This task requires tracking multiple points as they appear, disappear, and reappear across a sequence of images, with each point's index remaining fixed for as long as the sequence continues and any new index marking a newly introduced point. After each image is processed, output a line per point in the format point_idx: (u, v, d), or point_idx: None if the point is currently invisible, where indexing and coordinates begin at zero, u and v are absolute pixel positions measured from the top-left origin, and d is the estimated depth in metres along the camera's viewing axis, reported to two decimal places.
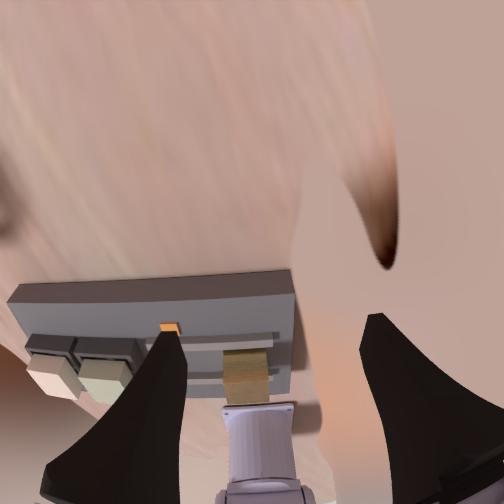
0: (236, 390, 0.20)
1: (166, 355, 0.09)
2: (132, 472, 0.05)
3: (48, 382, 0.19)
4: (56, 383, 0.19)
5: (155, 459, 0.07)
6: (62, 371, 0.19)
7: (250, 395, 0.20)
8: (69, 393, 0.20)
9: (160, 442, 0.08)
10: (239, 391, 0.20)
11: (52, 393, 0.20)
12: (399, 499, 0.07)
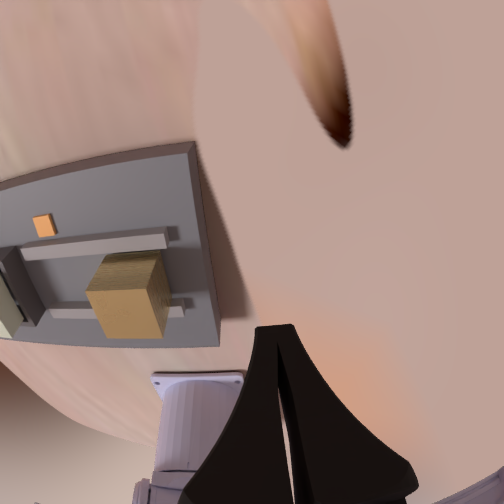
0: (108, 310, 0.13)
1: (276, 350, 0.09)
2: None
3: None
4: None
5: None
6: None
7: (130, 321, 0.13)
8: None
9: None
10: (112, 312, 0.13)
11: None
12: None
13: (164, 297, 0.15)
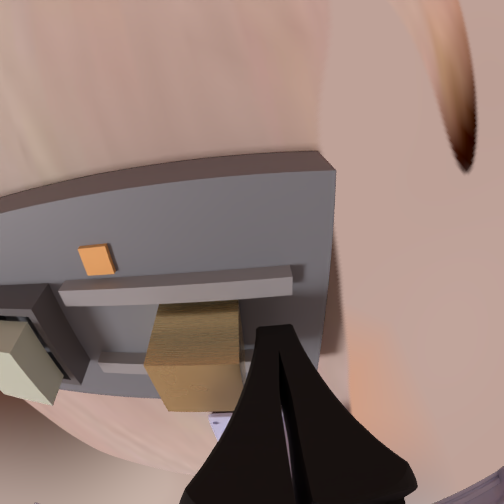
0: (176, 386, 0.09)
1: (278, 350, 0.09)
2: None
3: None
4: None
5: None
6: None
7: (206, 396, 0.10)
8: None
9: None
10: (182, 388, 0.09)
11: None
12: None
13: (243, 357, 0.11)
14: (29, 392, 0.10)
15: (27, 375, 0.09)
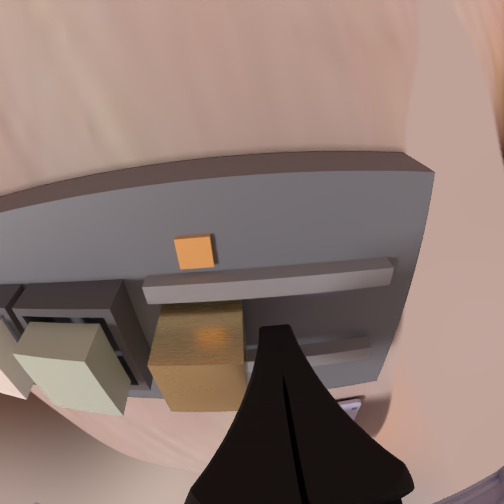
0: (180, 386, 0.09)
1: (281, 349, 0.09)
2: None
3: None
4: None
5: None
6: None
7: (210, 396, 0.10)
8: (11, 386, 0.10)
9: None
10: (186, 388, 0.09)
11: None
12: None
13: (246, 357, 0.11)
14: (94, 404, 0.10)
15: (101, 384, 0.09)
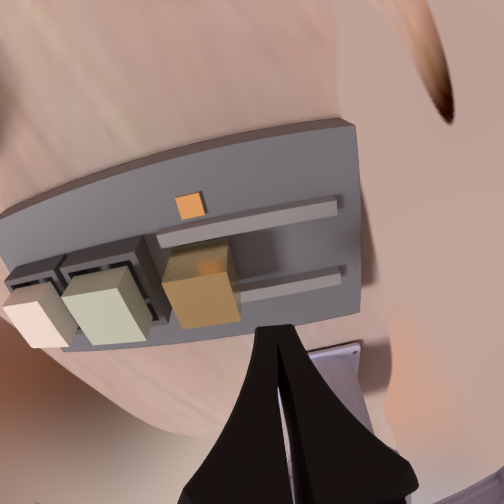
0: (185, 300, 0.14)
1: (276, 350, 0.09)
2: None
3: (29, 322, 0.14)
4: (38, 320, 0.14)
5: None
6: (45, 299, 0.14)
7: (209, 308, 0.14)
8: (56, 336, 0.15)
9: None
10: (190, 301, 0.14)
11: (37, 342, 0.15)
12: None
13: (236, 282, 0.16)
14: (124, 332, 0.15)
15: (129, 309, 0.14)
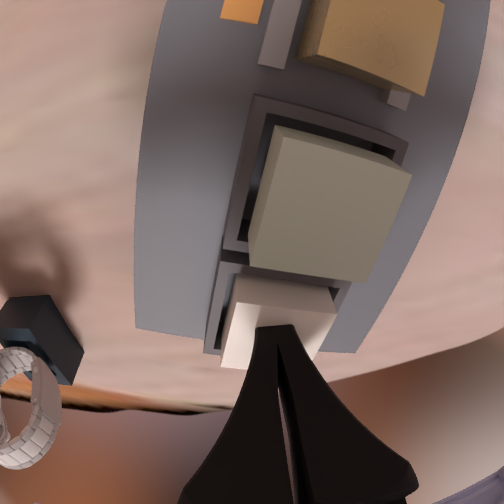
0: (369, 40, 0.06)
1: (276, 350, 0.09)
2: None
3: None
4: None
5: None
6: (247, 291, 0.11)
7: (402, 22, 0.05)
8: (309, 319, 0.11)
9: None
10: (376, 37, 0.05)
11: None
12: None
13: None
14: (376, 201, 0.08)
15: (339, 150, 0.07)
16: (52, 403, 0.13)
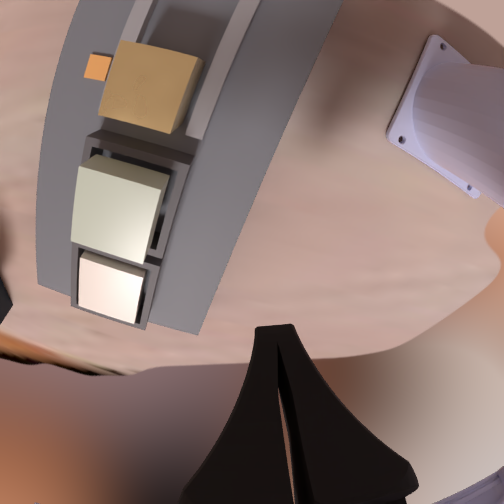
0: (129, 101, 0.10)
1: (276, 350, 0.09)
2: None
3: (101, 292, 0.16)
4: (100, 279, 0.15)
5: None
6: (90, 253, 0.15)
7: (155, 82, 0.09)
8: (125, 278, 0.15)
9: None
10: (134, 97, 0.10)
11: (127, 309, 0.16)
12: None
13: None
14: (137, 207, 0.12)
15: (109, 174, 0.11)
16: None
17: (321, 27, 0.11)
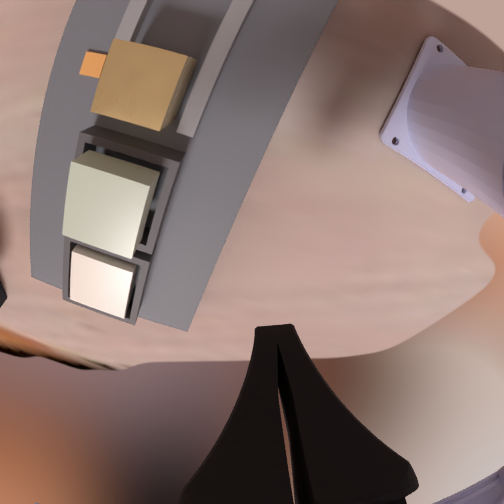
0: (121, 98, 0.10)
1: (276, 350, 0.09)
2: None
3: (92, 286, 0.16)
4: (91, 273, 0.15)
5: None
6: (82, 247, 0.15)
7: (146, 80, 0.09)
8: (115, 272, 0.15)
9: None
10: (126, 95, 0.10)
11: (117, 303, 0.16)
12: None
13: None
14: (126, 202, 0.12)
15: (100, 169, 0.11)
16: None
17: (315, 27, 0.11)
